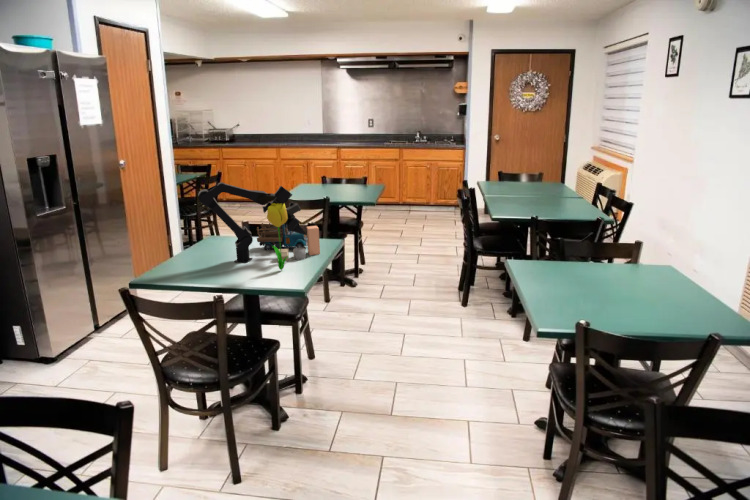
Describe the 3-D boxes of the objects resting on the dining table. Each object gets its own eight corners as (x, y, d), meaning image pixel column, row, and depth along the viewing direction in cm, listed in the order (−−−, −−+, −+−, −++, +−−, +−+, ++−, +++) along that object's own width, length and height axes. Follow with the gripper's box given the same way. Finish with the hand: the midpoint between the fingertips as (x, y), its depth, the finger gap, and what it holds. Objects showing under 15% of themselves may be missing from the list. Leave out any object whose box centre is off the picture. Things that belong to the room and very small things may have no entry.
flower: (293, 268, 236) (288, 201, 228) (288, 273, 228) (284, 205, 220) (274, 267, 237) (269, 201, 229) (269, 273, 229) (263, 205, 221)
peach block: (309, 255, 256) (308, 228, 252) (308, 252, 260) (306, 226, 257) (320, 254, 257) (318, 227, 254) (318, 251, 262) (316, 225, 258)
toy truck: (307, 250, 264) (305, 221, 260) (257, 251, 265) (254, 222, 261) (310, 245, 274) (308, 216, 270) (262, 245, 275) (260, 217, 271)
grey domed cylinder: (303, 260, 248) (302, 250, 247) (292, 259, 249) (291, 250, 248) (307, 256, 253) (306, 247, 252) (296, 256, 255) (295, 247, 253)
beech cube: (287, 260, 248) (287, 251, 247) (278, 261, 248) (277, 251, 247) (288, 258, 252) (288, 248, 251) (279, 258, 252) (278, 249, 251)
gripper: (292, 201, 240) (318, 223, 246) (286, 195, 257) (310, 215, 263) (276, 220, 240) (302, 241, 246) (271, 212, 257) (296, 232, 263)
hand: (303, 231), depth 255 cm, fingers open, 9 cm apart
